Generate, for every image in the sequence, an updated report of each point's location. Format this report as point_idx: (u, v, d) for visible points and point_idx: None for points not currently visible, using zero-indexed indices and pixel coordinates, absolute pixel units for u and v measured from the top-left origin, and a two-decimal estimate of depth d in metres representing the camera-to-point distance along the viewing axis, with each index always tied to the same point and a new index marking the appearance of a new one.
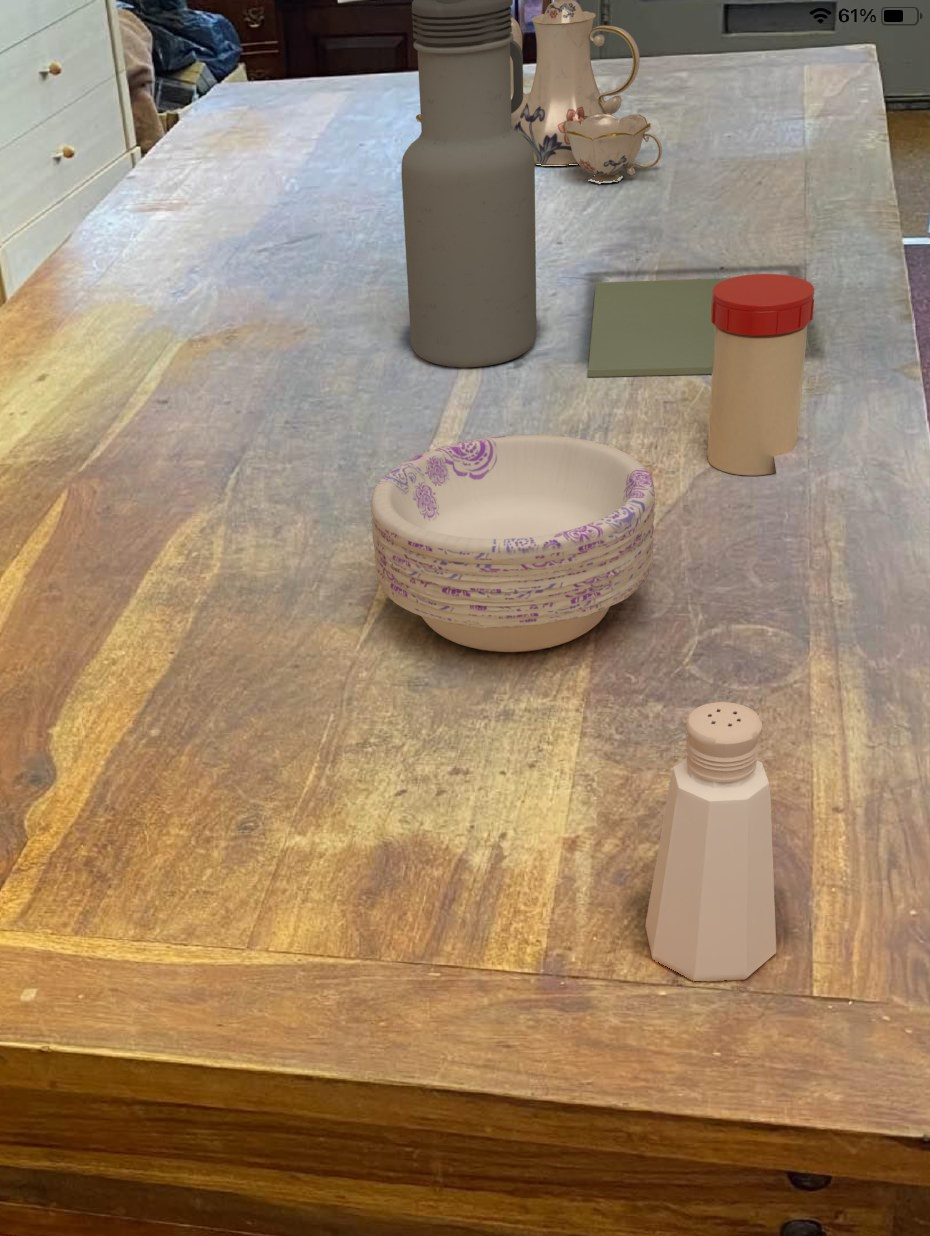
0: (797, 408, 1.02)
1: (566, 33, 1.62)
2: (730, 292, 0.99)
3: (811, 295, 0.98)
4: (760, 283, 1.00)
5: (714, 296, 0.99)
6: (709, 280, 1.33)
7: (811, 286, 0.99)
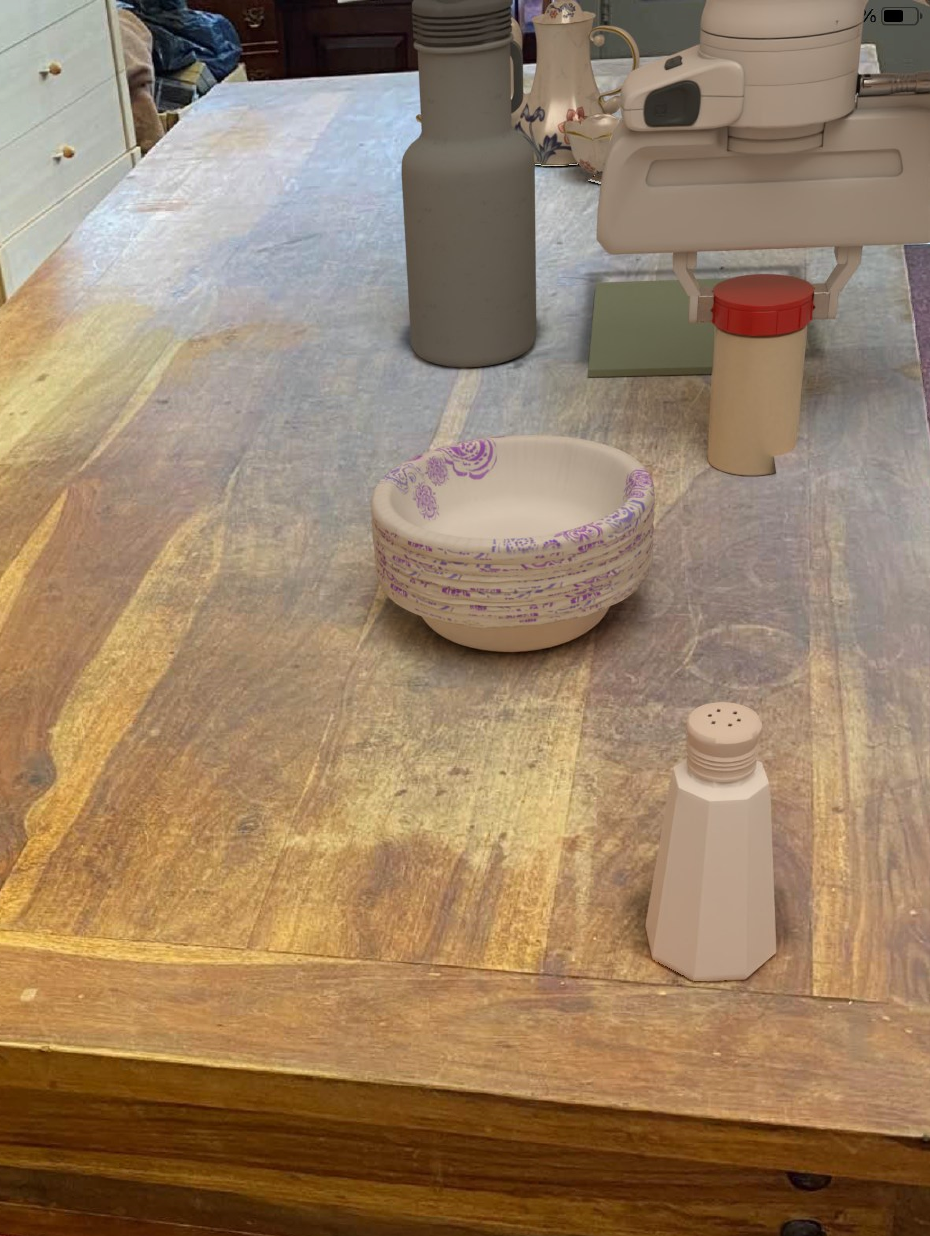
0: (797, 408, 1.02)
1: (566, 33, 1.62)
2: (730, 292, 0.99)
3: (811, 295, 0.98)
4: (760, 283, 1.00)
5: (714, 296, 0.99)
6: (709, 280, 1.33)
7: (811, 286, 0.99)
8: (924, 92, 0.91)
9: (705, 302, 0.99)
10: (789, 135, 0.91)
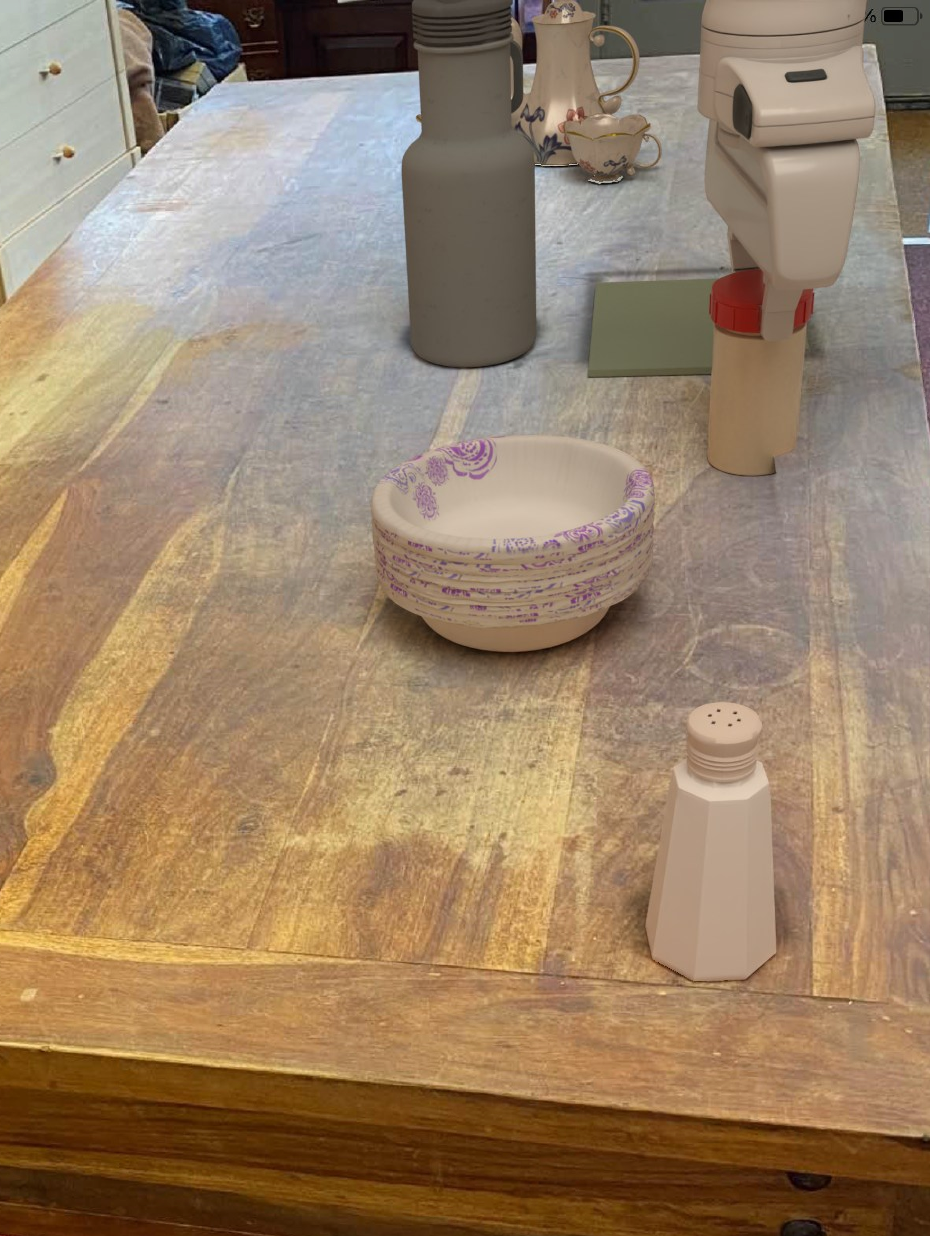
0: (797, 408, 1.02)
1: (566, 33, 1.62)
2: None
3: None
4: (745, 287, 0.99)
5: None
6: (709, 280, 1.33)
7: (747, 270, 1.01)
8: None
9: None
10: None
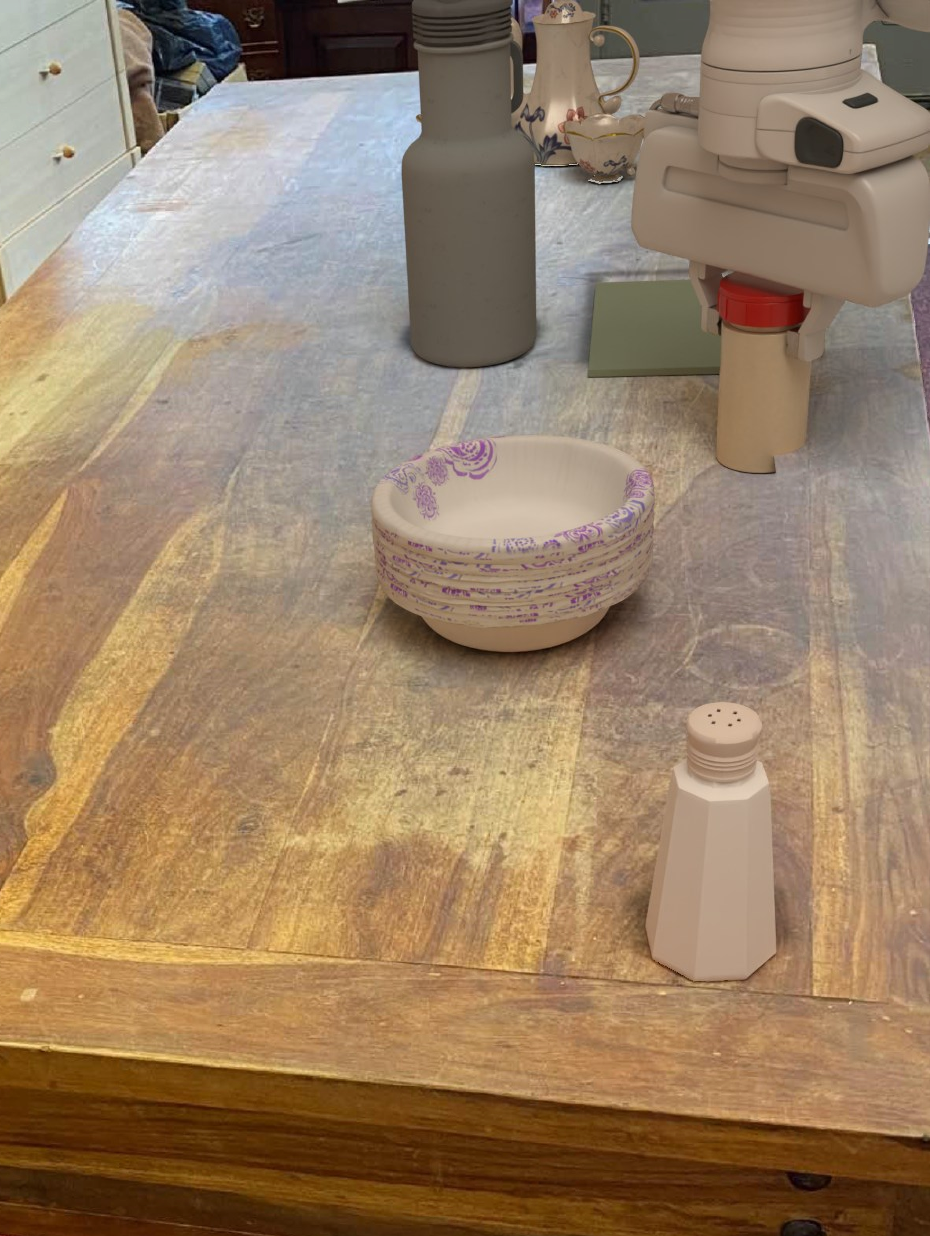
0: (805, 405, 1.02)
1: (566, 33, 1.62)
2: None
3: None
4: (759, 286, 0.99)
5: None
6: None
7: (731, 273, 1.01)
8: None
9: None
10: None
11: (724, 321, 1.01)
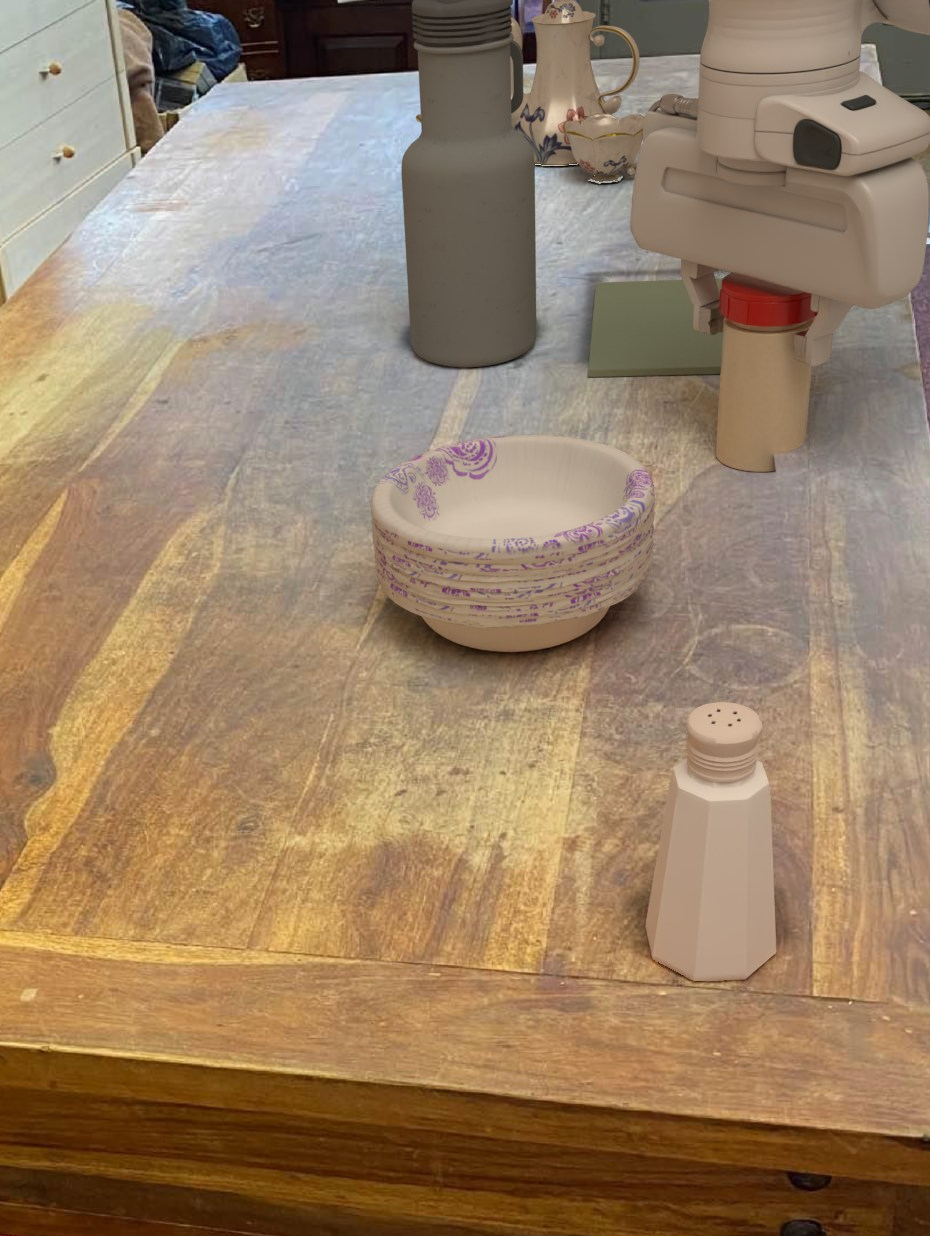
0: (805, 404, 1.02)
1: (566, 33, 1.62)
2: None
3: None
4: (761, 285, 0.99)
5: None
6: None
7: None
8: None
9: None
10: None
11: (726, 320, 1.01)
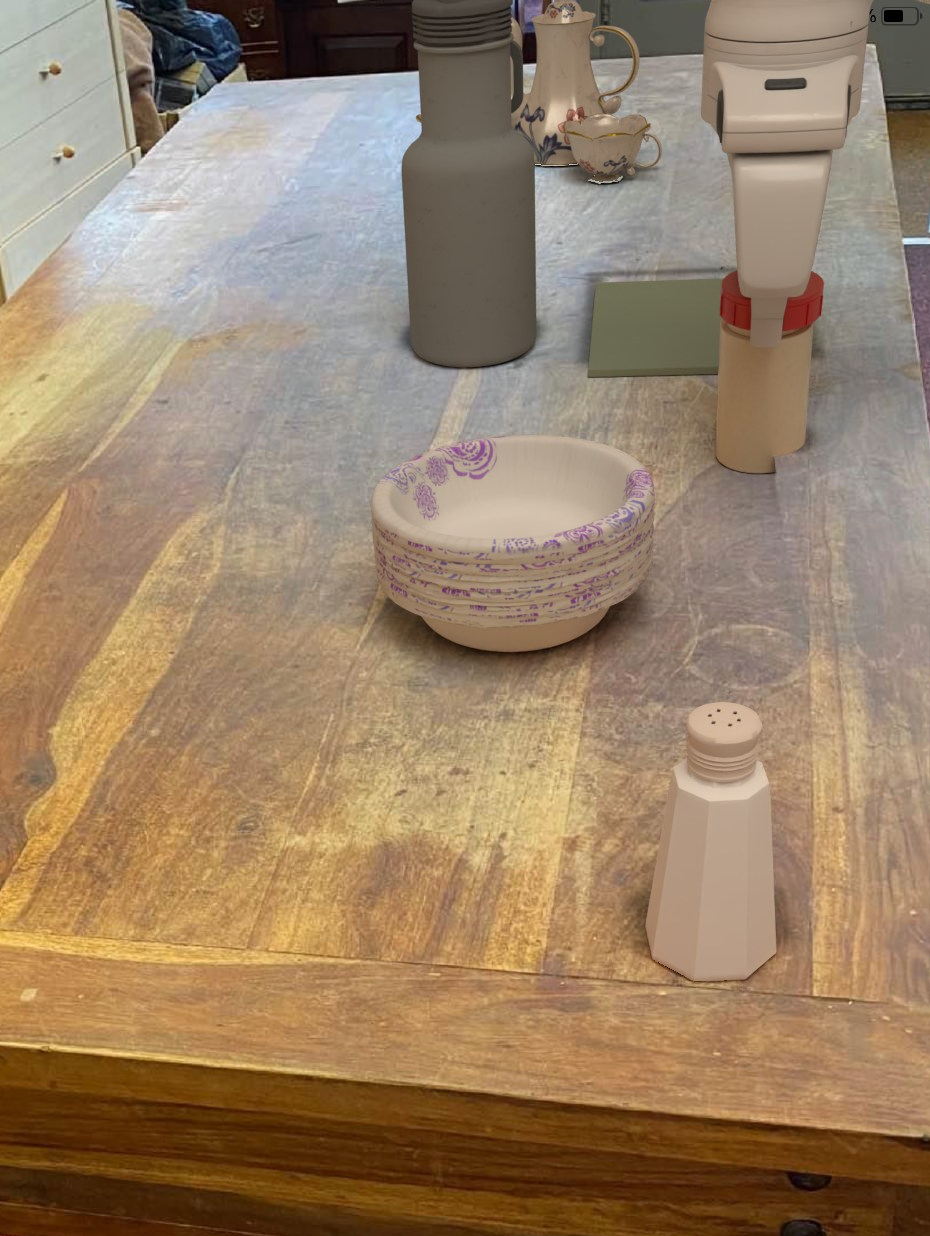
0: (805, 405, 1.02)
1: (566, 33, 1.62)
2: None
3: (725, 277, 1.00)
4: None
5: (821, 279, 0.98)
6: (709, 280, 1.33)
7: (723, 284, 0.99)
8: None
9: None
10: None
11: (722, 323, 1.00)
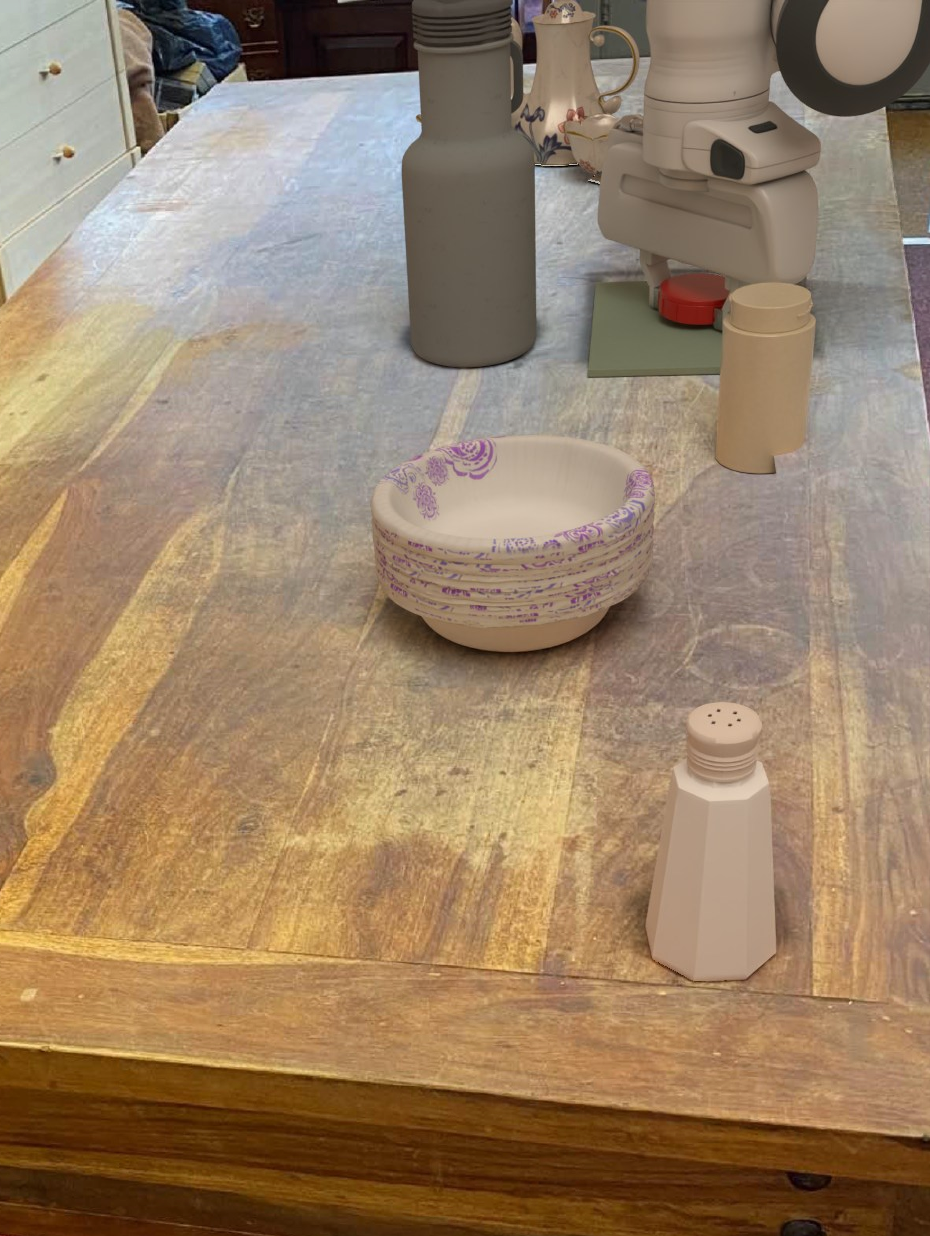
0: (806, 406, 1.02)
1: (566, 33, 1.62)
2: (715, 279, 1.25)
3: (662, 292, 1.24)
4: (709, 290, 1.24)
5: None
6: None
7: (673, 296, 1.23)
8: None
9: None
10: None
11: (725, 321, 1.01)
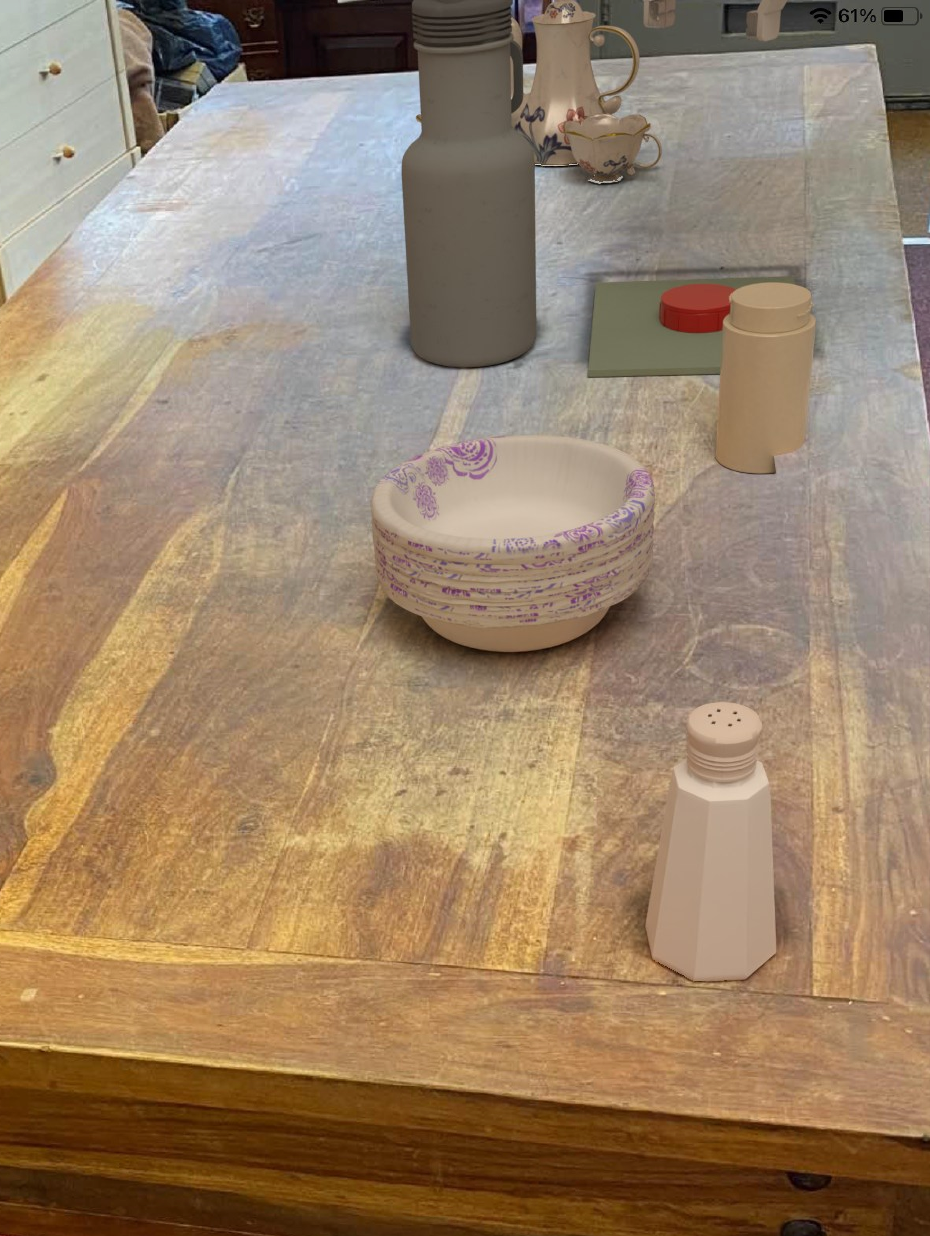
0: (806, 406, 1.02)
1: (566, 33, 1.62)
2: (716, 288, 1.26)
3: (663, 302, 1.24)
4: (710, 299, 1.24)
5: None
6: (709, 280, 1.33)
7: (674, 306, 1.23)
8: None
9: None
10: None
11: (725, 321, 1.01)
